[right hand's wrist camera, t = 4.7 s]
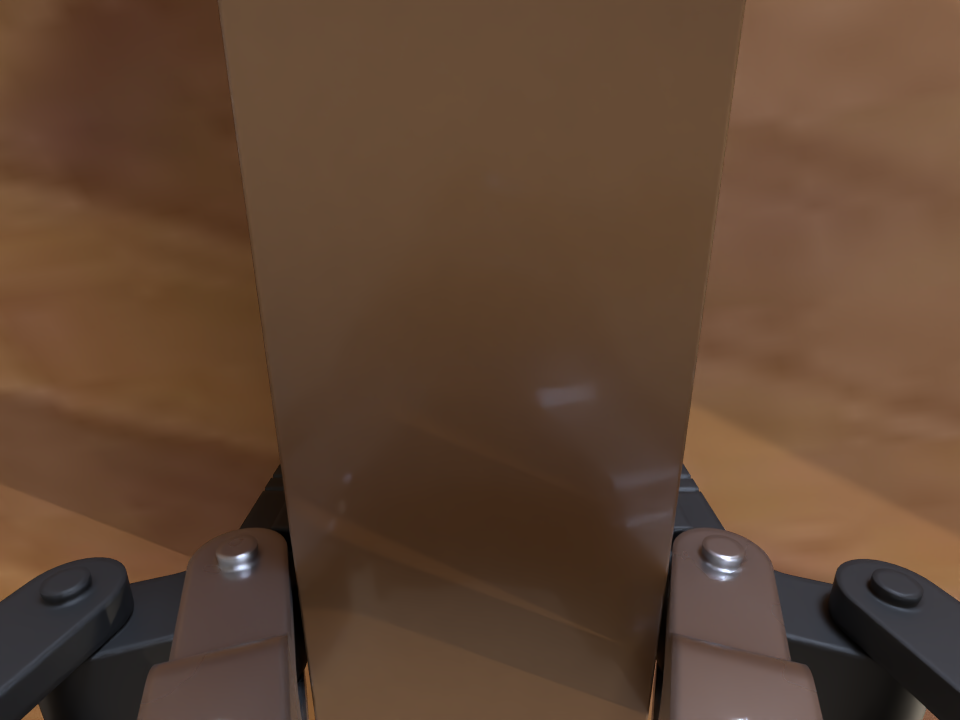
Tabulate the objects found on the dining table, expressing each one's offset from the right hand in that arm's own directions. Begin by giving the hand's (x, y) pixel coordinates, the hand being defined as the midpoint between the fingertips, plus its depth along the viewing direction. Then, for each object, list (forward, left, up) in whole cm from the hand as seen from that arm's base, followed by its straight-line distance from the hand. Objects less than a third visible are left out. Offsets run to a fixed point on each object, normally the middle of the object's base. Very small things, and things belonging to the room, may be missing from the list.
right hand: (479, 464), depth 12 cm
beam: (-3, -26, -2) cm, 27 cm away
